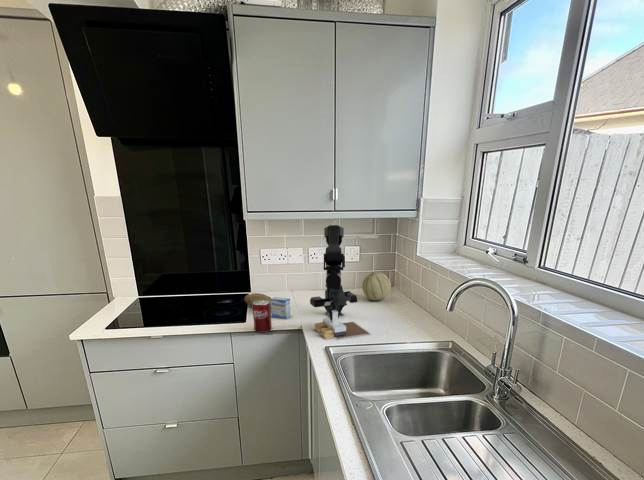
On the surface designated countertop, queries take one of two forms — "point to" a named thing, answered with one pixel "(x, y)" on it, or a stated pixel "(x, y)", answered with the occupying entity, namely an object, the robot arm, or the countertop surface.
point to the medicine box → (280, 307)
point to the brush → (335, 324)
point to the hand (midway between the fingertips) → (334, 320)
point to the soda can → (262, 316)
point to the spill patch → (352, 330)
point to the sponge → (257, 298)
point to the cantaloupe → (376, 286)
